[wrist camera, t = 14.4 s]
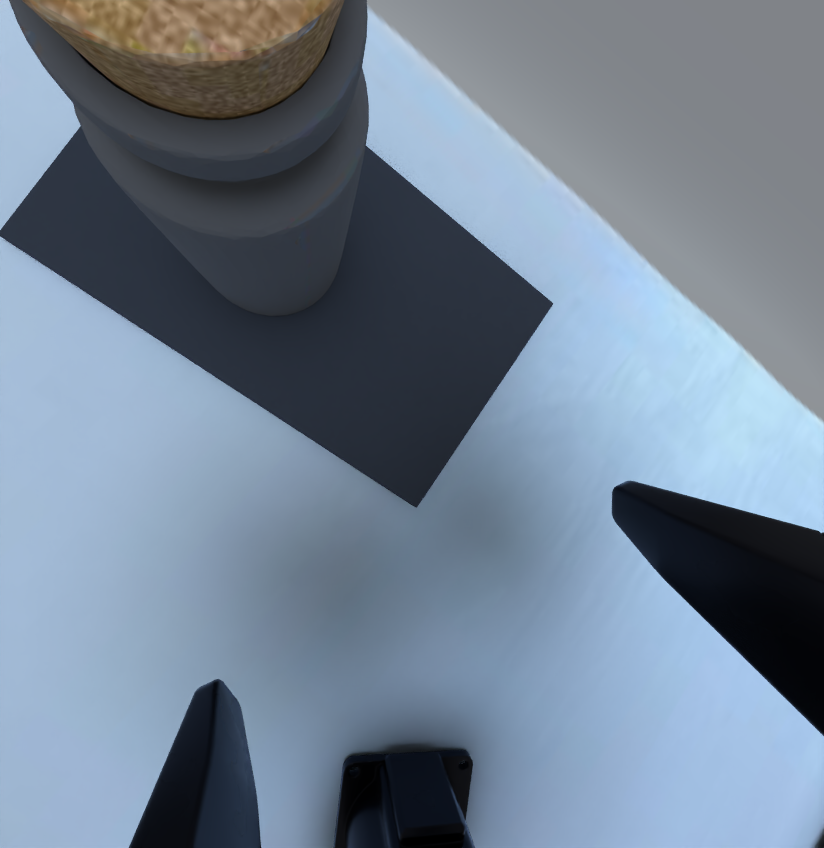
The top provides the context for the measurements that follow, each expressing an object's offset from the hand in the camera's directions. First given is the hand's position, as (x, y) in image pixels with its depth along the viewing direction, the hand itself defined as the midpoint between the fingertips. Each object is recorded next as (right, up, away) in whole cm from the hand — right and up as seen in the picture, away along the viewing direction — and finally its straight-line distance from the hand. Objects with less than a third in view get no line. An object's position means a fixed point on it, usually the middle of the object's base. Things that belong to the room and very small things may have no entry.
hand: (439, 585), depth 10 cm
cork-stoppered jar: (-7, +11, +10) cm, 16 cm away
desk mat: (-5, +10, +11) cm, 16 cm away
